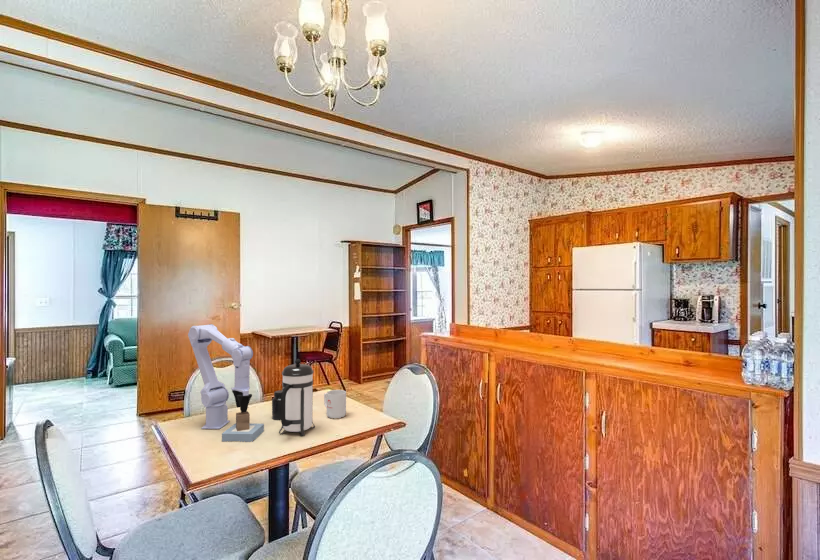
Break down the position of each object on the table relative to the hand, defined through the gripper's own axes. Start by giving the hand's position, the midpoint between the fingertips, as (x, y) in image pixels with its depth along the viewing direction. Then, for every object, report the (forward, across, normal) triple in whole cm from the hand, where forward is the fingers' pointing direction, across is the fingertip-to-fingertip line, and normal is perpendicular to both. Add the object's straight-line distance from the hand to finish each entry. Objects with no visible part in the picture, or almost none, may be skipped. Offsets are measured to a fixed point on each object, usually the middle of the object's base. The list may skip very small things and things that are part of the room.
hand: (241, 409), depth 172 cm
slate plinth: (+9, +5, 0) cm, 11 cm away
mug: (+9, +1, +41) cm, 42 cm away
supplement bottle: (+10, -9, +19) cm, 23 cm away
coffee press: (+9, +13, +19) cm, 25 cm away
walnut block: (+6, +5, -1) cm, 8 cm away
